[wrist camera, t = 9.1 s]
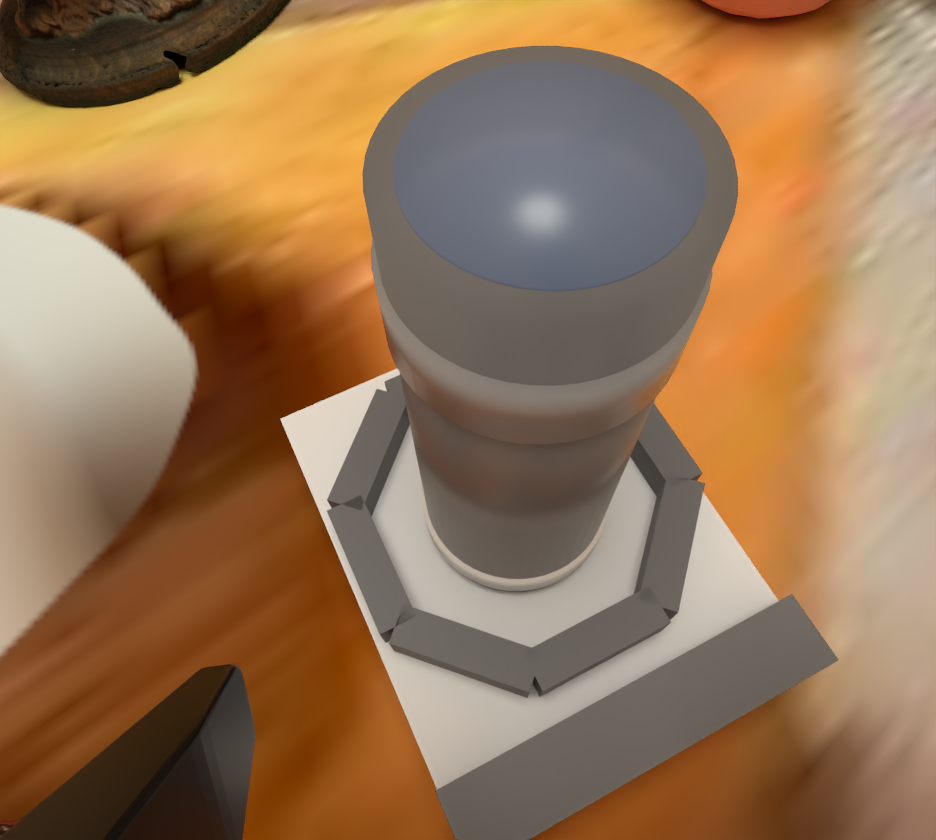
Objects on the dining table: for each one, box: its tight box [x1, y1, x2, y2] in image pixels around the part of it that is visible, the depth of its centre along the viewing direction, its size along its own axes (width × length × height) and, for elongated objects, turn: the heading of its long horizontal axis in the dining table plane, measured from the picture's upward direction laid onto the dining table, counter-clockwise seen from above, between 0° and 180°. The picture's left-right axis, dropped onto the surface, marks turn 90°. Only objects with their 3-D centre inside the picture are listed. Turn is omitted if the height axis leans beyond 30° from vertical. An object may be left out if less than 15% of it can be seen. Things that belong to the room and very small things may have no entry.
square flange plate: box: [281, 368, 838, 840], centre depth 21 cm, size 13×10×4 cm
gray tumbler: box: [363, 46, 738, 592], centre depth 15 cm, size 5×5×12 cm
